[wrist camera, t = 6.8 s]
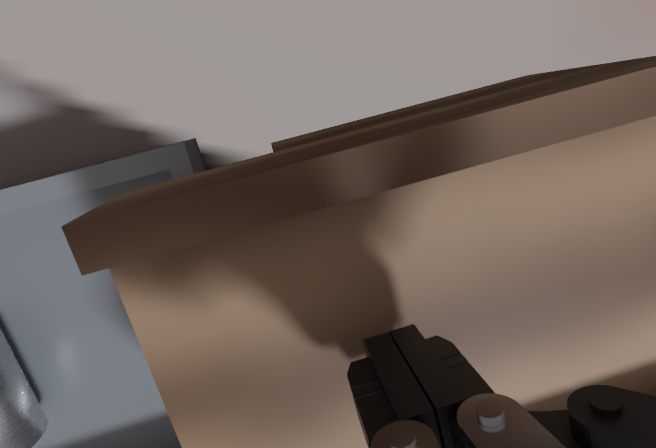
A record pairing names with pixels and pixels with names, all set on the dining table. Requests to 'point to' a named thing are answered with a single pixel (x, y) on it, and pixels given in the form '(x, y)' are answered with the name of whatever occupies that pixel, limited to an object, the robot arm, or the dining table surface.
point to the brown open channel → (398, 257)
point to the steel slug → (17, 404)
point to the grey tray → (81, 307)
